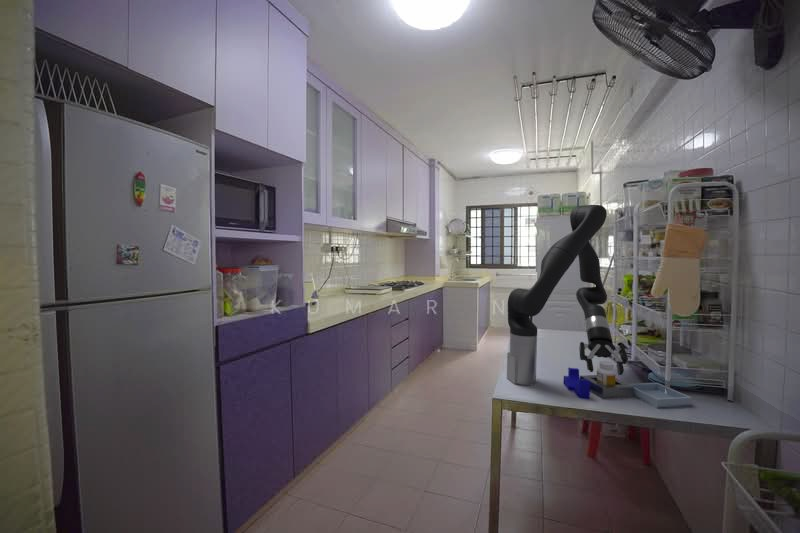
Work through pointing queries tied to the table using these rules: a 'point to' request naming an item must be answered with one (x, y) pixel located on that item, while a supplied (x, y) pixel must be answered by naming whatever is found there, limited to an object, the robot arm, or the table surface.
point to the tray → (660, 395)
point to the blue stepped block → (577, 384)
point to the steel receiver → (609, 388)
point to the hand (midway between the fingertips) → (606, 372)
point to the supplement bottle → (606, 373)
